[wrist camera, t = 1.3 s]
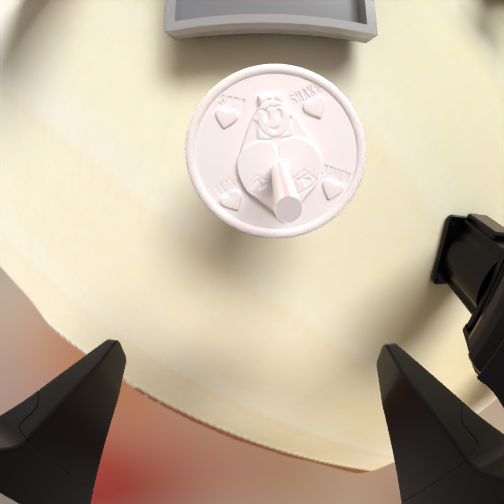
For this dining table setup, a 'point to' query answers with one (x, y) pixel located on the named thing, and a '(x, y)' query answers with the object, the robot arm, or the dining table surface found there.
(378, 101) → the dining table surface
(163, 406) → the dining table surface
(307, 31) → the grey tray
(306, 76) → the smoothie
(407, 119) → the dining table surface
